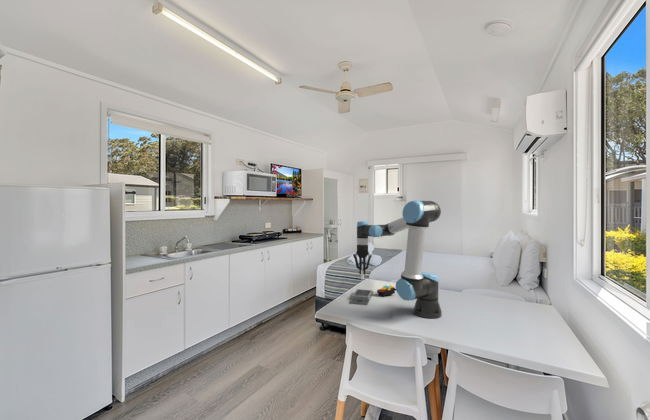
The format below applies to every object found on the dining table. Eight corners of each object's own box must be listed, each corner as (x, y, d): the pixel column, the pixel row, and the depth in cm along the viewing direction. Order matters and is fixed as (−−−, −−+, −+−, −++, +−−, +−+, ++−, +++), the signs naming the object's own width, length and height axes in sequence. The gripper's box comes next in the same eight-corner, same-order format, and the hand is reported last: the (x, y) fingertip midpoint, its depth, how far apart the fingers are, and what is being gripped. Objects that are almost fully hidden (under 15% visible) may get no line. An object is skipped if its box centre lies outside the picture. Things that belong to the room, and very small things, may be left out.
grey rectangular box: (367, 305, 175) (367, 300, 175) (349, 303, 178) (349, 298, 178) (373, 292, 202) (373, 288, 202) (358, 291, 205) (358, 287, 205)
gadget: (374, 294, 195) (374, 286, 195) (390, 292, 201) (390, 284, 201) (380, 297, 190) (380, 288, 190) (396, 295, 195) (396, 286, 195)
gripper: (372, 243, 193) (372, 278, 193) (354, 243, 197) (354, 277, 197) (371, 245, 186) (371, 281, 186) (351, 244, 189) (351, 279, 190)
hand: (362, 279), depth 191 cm, fingers closed
